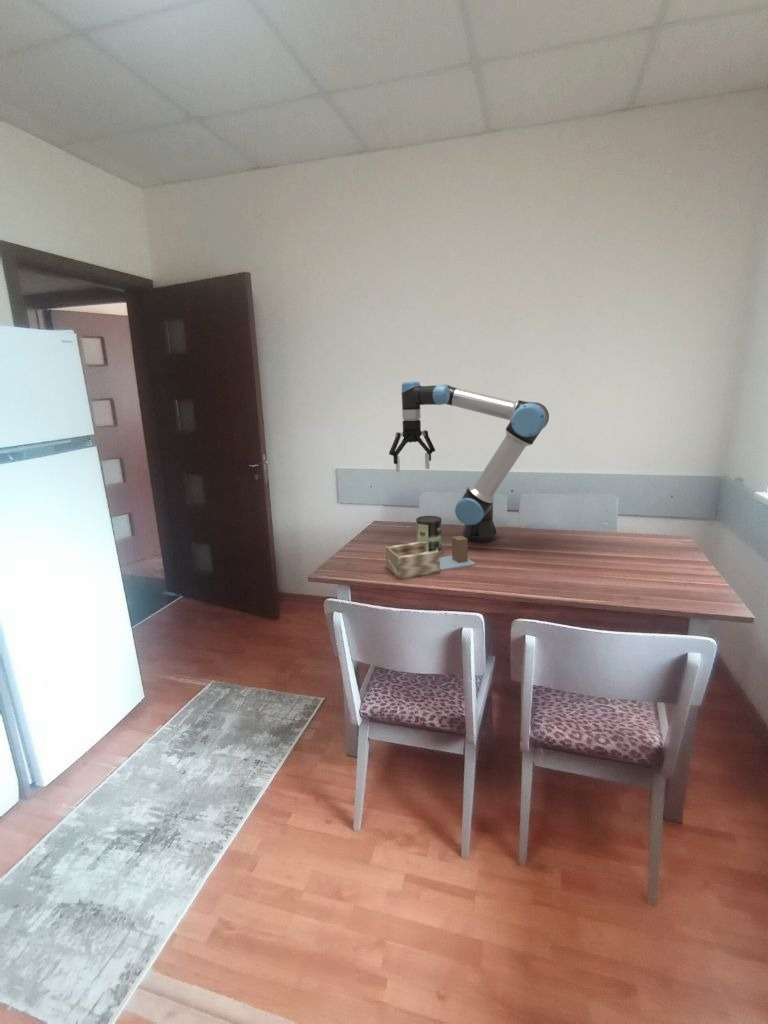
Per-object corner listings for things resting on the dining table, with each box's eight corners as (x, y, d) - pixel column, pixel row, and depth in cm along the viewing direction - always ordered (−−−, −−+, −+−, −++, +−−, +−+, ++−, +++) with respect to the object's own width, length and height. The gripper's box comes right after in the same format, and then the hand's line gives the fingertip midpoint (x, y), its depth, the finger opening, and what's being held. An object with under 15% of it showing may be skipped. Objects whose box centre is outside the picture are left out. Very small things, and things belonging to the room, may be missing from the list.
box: (424, 560, 189) (424, 541, 187) (439, 572, 176) (439, 551, 174) (386, 566, 184) (385, 546, 182) (399, 579, 172) (398, 558, 170)
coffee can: (442, 547, 203) (442, 515, 200) (440, 556, 194) (440, 522, 190) (418, 547, 205) (417, 515, 202) (415, 555, 196) (414, 521, 192)
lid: (461, 556, 193) (461, 532, 190) (475, 566, 182) (475, 540, 180) (428, 561, 189) (427, 537, 186) (441, 571, 178) (440, 546, 175)
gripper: (435, 417, 208) (435, 466, 213) (380, 421, 200) (382, 471, 206) (442, 418, 201) (443, 468, 206) (386, 422, 194) (388, 474, 199)
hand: (412, 470), depth 206 cm, fingers open, 13 cm apart
